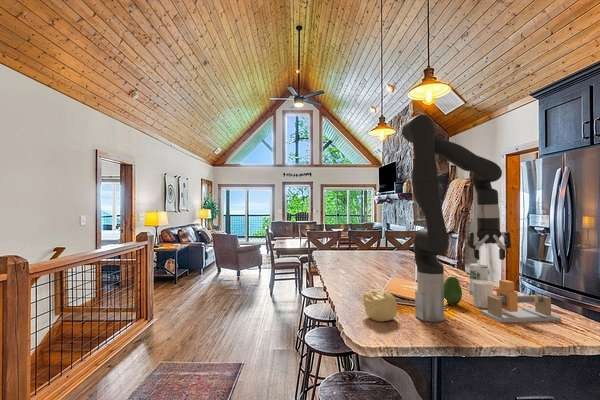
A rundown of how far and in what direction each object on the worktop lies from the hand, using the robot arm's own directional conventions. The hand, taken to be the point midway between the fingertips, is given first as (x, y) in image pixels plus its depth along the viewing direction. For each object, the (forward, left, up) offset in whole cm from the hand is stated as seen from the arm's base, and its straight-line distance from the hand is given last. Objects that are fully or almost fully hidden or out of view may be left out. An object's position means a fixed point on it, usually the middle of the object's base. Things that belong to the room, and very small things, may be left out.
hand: (489, 259), depth 123 cm
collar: (+7, 0, -19) cm, 20 cm away
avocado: (-5, +17, -22) cm, 29 cm away
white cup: (+7, +14, -22) cm, 27 cm away
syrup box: (+17, +31, -22) cm, 42 cm away
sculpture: (-42, +2, -22) cm, 47 cm away
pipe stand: (+12, 0, -22) cm, 25 cm away
